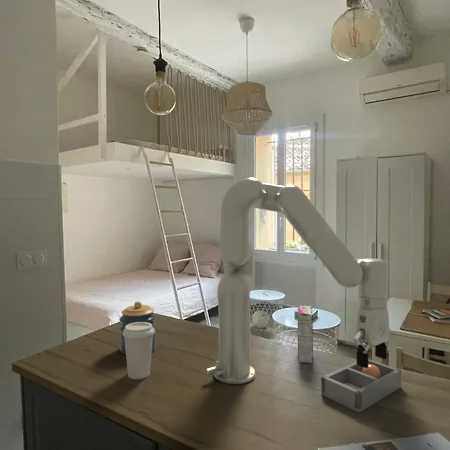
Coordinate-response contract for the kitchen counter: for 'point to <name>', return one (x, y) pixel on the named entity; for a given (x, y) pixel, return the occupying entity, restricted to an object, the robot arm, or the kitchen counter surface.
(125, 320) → the canister
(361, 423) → the kitchen counter surface
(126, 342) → the coffee cup
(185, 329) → the kitchen counter surface
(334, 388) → the divided tray
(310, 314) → the candy bar box
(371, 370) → the ball
